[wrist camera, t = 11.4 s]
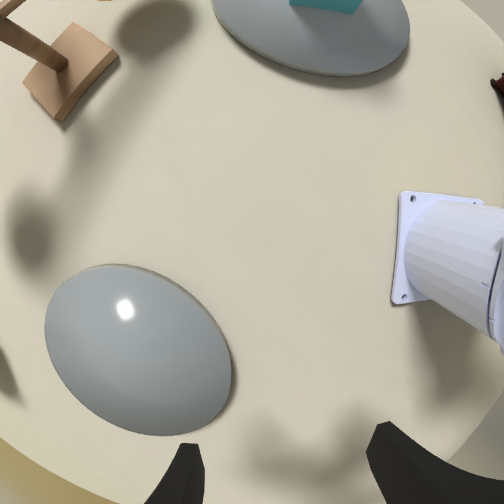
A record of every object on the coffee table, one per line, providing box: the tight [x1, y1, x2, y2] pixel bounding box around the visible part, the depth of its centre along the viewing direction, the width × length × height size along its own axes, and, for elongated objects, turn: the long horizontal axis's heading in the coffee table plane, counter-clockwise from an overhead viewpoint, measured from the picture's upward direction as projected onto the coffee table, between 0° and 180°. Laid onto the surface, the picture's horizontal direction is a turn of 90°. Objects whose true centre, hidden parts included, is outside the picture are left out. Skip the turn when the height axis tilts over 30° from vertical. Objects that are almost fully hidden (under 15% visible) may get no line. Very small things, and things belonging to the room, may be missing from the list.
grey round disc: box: [45, 264, 231, 436], centre depth 18 cm, size 15×15×1 cm
